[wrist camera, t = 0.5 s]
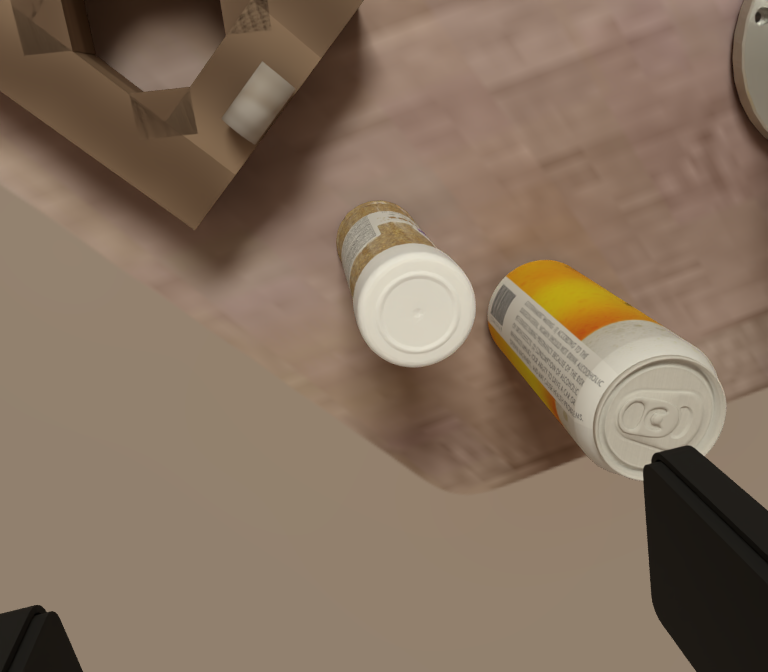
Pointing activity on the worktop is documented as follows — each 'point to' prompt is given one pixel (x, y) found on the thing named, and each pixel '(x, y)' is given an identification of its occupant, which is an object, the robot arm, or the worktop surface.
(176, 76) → the worktop surface
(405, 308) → the sprinkles bottle
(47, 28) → the open brown cardboard box
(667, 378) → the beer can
